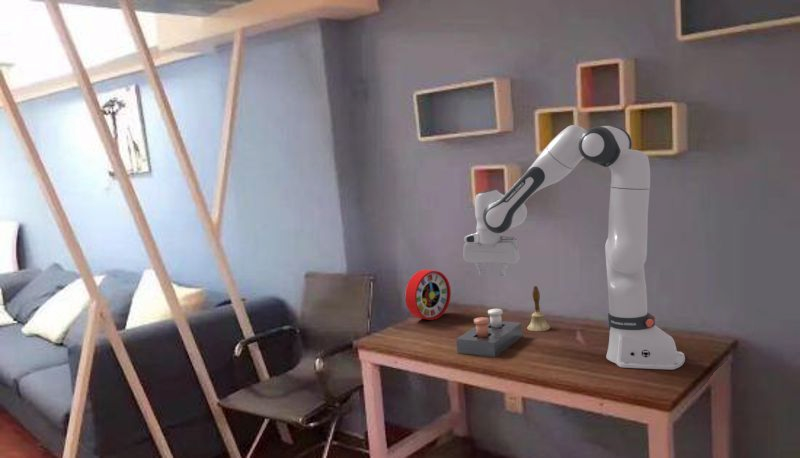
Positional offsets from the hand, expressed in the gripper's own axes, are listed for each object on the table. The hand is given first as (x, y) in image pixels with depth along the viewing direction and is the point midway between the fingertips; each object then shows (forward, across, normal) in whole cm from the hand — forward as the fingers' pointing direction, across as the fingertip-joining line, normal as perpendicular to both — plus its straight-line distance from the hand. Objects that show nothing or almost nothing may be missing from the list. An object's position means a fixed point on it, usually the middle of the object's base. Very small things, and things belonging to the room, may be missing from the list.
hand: (492, 275), depth 225 cm
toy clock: (+24, +38, -18) cm, 48 cm away
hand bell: (+24, -9, -16) cm, 30 cm away
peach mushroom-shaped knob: (+19, 0, +11) cm, 22 cm away
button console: (+23, 0, +6) cm, 24 cm away
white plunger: (+19, 0, 0) cm, 19 cm away
